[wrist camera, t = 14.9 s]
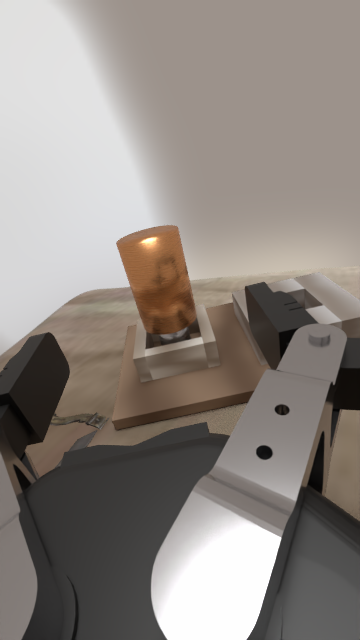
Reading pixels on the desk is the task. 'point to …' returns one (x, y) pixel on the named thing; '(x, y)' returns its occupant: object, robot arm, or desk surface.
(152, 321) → the copper cup
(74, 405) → the desk surface
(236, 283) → the desk surface
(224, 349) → the tool board
